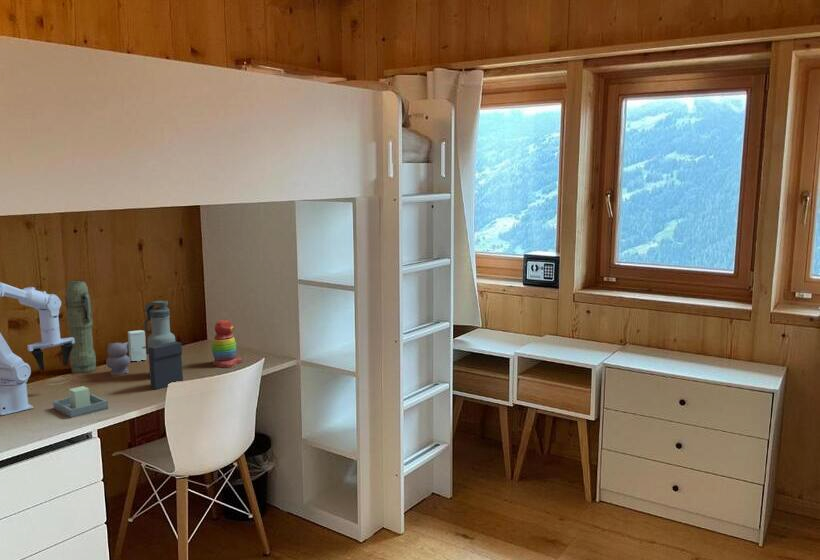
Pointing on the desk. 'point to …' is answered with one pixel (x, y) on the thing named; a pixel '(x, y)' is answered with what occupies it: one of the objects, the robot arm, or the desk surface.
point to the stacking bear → (224, 345)
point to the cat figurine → (118, 358)
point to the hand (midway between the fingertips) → (53, 367)
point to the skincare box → (137, 345)
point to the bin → (94, 406)
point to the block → (79, 397)
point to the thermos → (80, 327)
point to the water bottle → (158, 324)
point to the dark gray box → (165, 364)
